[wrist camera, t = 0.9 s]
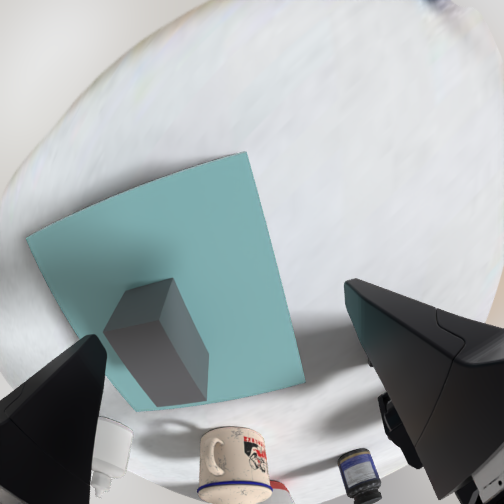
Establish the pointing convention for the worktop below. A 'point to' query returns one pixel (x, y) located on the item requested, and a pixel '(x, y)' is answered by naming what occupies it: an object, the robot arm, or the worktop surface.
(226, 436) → the teacup with lid
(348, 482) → the pill bottle
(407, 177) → the worktop surface
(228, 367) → the lid
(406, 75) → the worktop surface
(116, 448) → the eye dropper bottle
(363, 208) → the worktop surface
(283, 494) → the citrus juicer
